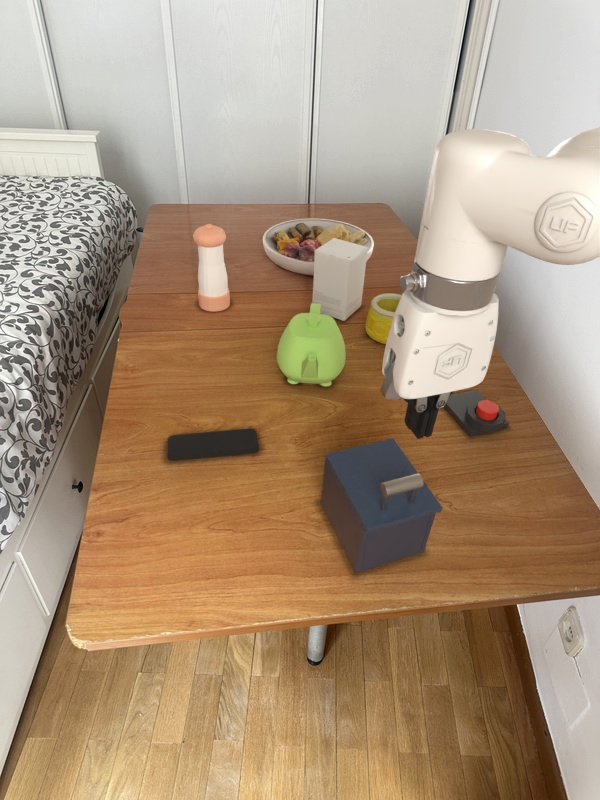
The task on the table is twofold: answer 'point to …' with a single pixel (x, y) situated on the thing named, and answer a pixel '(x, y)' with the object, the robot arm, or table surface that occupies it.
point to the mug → (381, 316)
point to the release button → (487, 410)
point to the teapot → (311, 349)
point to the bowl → (308, 241)
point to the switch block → (473, 414)
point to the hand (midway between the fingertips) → (417, 429)
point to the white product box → (339, 277)
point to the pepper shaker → (212, 268)
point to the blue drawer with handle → (382, 484)
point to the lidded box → (375, 544)
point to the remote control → (212, 444)
